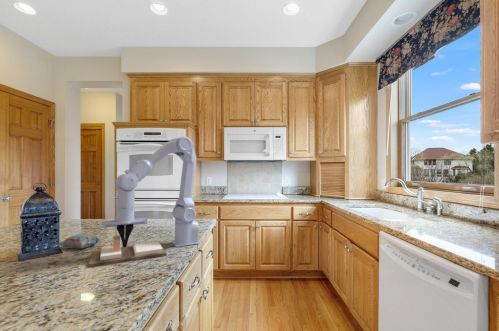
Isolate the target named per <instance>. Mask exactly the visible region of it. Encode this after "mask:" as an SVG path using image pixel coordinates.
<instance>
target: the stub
mask: <svg viewBox="0 0 499 331" xmlns="http://www.w3.org/2000/svg"><path fill="white" fill-rule="evenodd" d="M112 242H113V243H112V245H109V246H102V247H101V249H100V250H101V256H100V260H107V259H114V258H121V247H122V245H121V237H120V235H114V236H113V241H112Z"/></svg>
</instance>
